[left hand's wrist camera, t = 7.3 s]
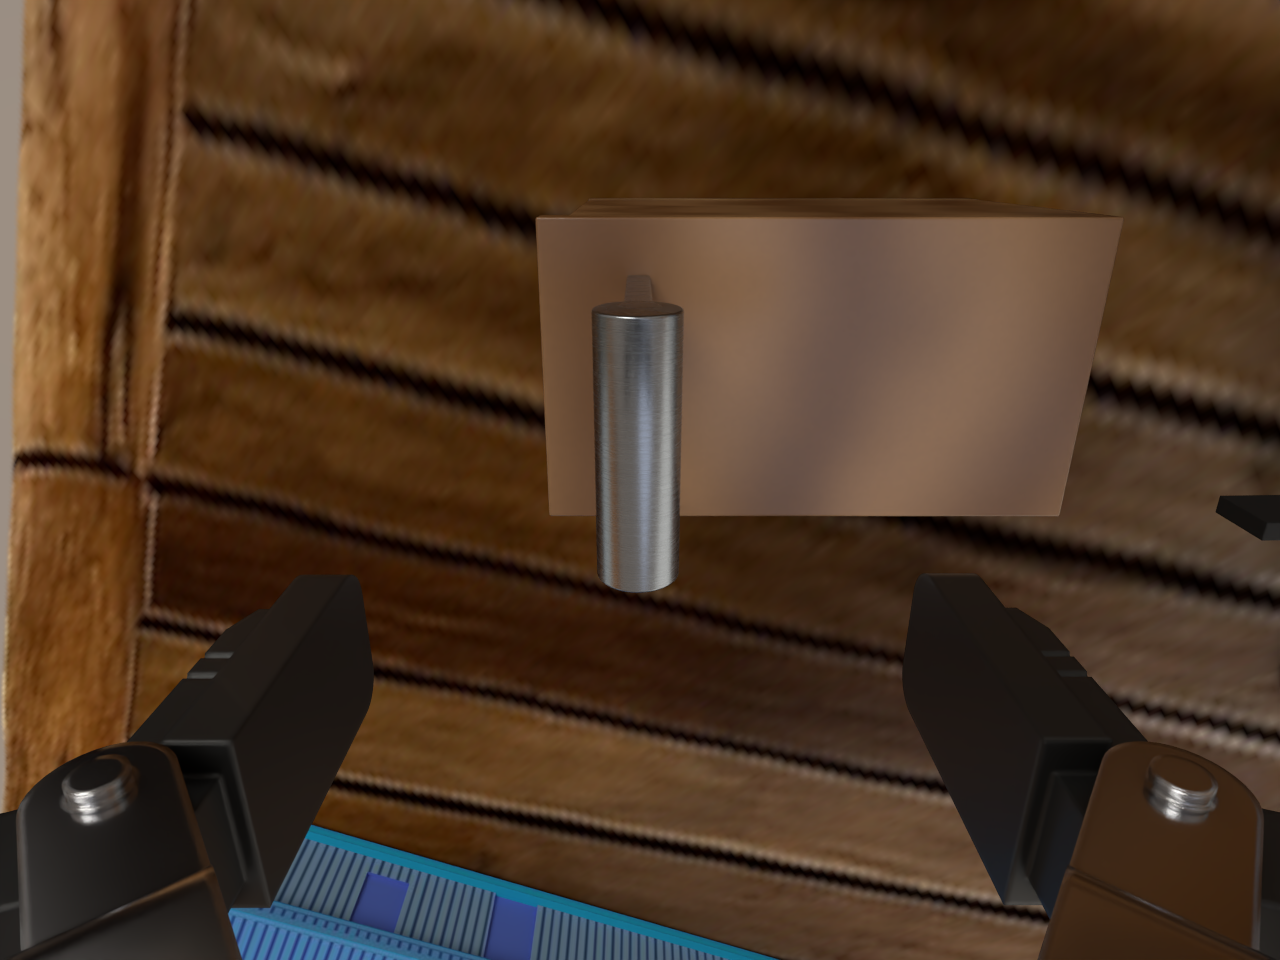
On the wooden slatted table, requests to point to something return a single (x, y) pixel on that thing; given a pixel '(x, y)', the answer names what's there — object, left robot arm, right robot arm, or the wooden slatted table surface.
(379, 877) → the model building
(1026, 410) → the lid
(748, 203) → the chest
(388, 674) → the wooden slatted table surface
